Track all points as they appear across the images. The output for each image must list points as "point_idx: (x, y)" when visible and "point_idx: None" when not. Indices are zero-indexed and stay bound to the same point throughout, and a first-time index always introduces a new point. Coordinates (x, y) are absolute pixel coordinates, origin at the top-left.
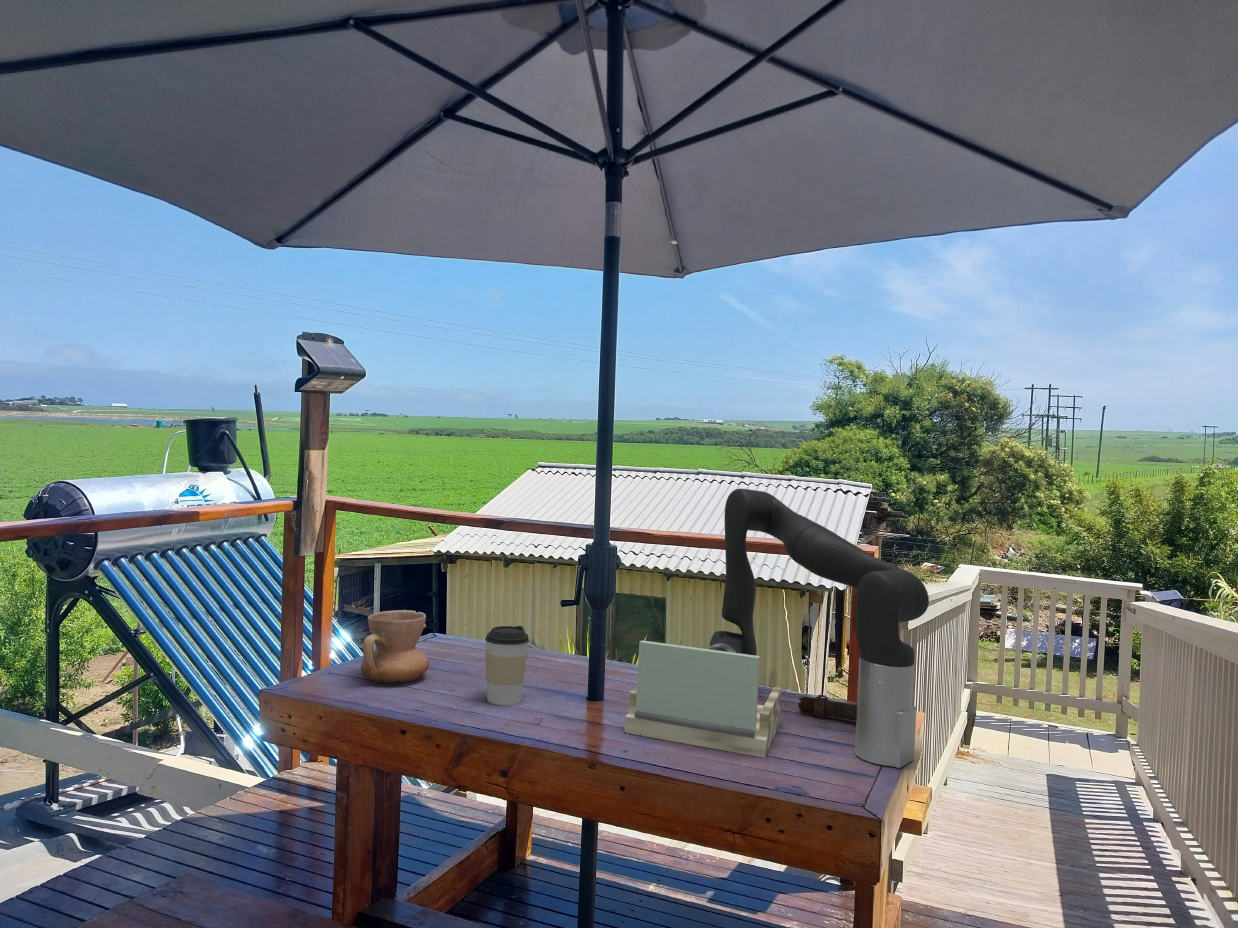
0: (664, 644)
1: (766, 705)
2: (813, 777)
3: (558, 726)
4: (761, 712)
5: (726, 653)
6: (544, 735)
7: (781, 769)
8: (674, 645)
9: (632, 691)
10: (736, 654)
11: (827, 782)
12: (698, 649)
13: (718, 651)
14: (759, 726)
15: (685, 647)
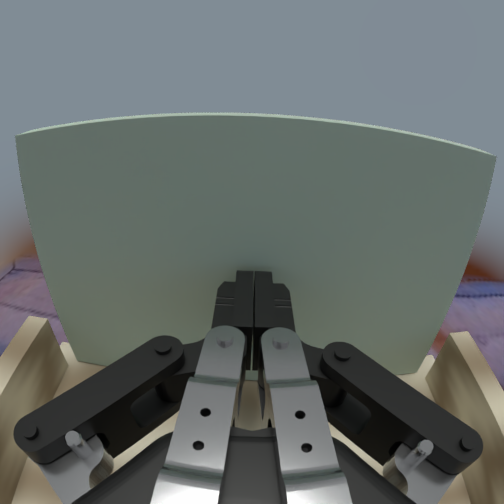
0: (411, 133)
1: (3, 379)
2: (24, 316)
3: (501, 343)
4: (42, 323)
5: (132, 116)
6: (479, 310)
7: (61, 331)
8: (374, 127)
9: (468, 340)
10: (94, 120)
11: (14, 307)
12: (256, 114)
13: (164, 116)
14: (60, 349)
15: (319, 119)
